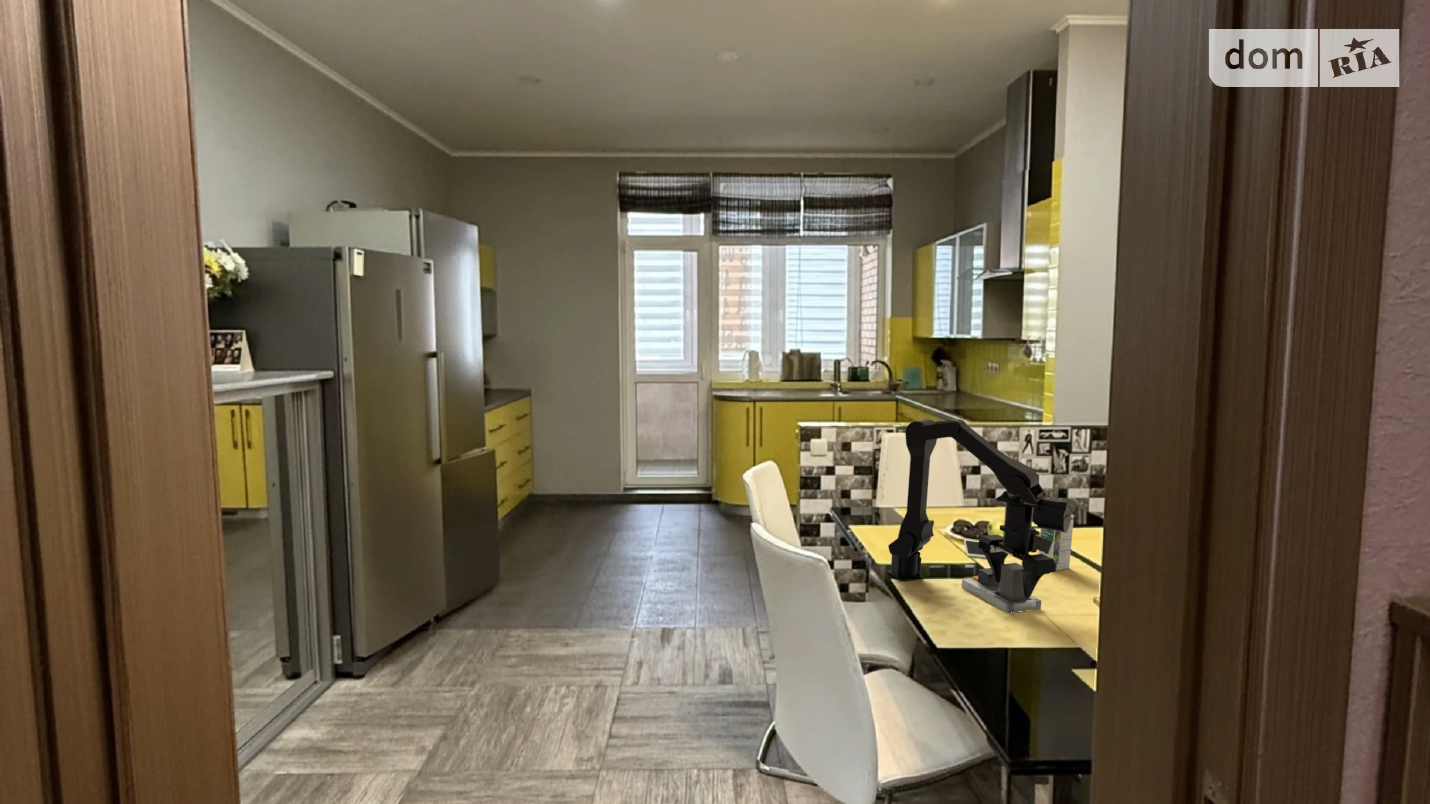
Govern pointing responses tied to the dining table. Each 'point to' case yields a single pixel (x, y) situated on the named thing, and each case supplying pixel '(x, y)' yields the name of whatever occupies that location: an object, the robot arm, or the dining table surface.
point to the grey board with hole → (996, 593)
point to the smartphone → (973, 549)
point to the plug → (1011, 583)
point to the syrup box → (1059, 545)
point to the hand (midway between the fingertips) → (1012, 589)
